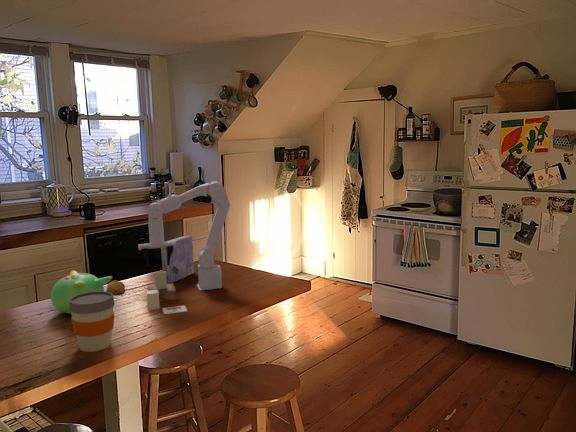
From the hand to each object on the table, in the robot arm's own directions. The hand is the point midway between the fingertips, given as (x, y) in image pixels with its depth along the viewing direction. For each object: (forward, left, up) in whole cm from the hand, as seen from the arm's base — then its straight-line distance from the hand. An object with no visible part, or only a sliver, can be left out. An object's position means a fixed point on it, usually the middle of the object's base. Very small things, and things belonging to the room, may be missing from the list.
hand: (158, 265), depth 198 cm
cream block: (+4, +20, -10) cm, 23 cm away
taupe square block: (0, +9, -11) cm, 14 cm away
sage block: (0, +9, -7) cm, 11 cm away
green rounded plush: (+29, +15, -11) cm, 34 cm away
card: (-3, +26, -10) cm, 28 cm away
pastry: (+16, -6, -11) cm, 21 cm away
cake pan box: (-10, -16, -11) cm, 22 cm away
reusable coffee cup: (+23, +48, -11) cm, 54 cm away
